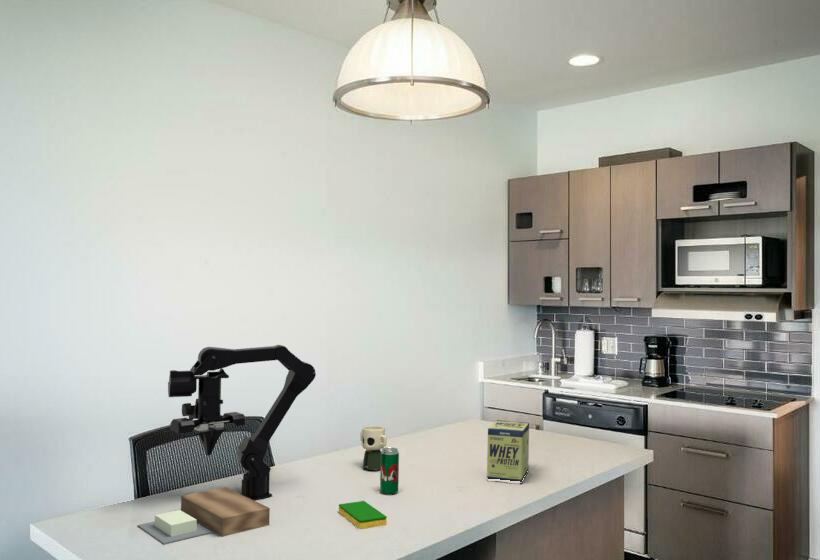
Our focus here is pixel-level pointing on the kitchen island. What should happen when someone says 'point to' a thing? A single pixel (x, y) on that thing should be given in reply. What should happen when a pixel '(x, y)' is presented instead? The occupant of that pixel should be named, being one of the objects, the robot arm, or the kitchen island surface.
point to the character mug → (373, 445)
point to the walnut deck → (225, 511)
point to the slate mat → (166, 539)
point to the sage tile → (175, 523)
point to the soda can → (389, 470)
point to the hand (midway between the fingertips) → (208, 455)
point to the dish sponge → (362, 514)
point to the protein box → (508, 450)
